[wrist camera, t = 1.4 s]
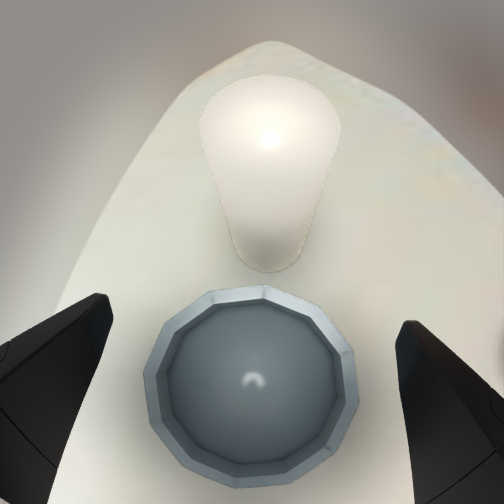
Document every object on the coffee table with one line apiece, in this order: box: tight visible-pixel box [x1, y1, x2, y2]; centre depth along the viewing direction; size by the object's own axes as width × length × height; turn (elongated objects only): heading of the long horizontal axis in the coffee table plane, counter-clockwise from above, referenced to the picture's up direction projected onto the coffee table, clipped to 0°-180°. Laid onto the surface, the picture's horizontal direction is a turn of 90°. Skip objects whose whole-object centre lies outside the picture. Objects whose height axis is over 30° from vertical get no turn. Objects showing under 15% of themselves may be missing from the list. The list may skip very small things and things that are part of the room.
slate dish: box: [143, 284, 359, 489], centre depth 19 cm, size 13×13×3 cm
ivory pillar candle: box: [199, 75, 341, 273], centre depth 17 cm, size 5×5×13 cm
